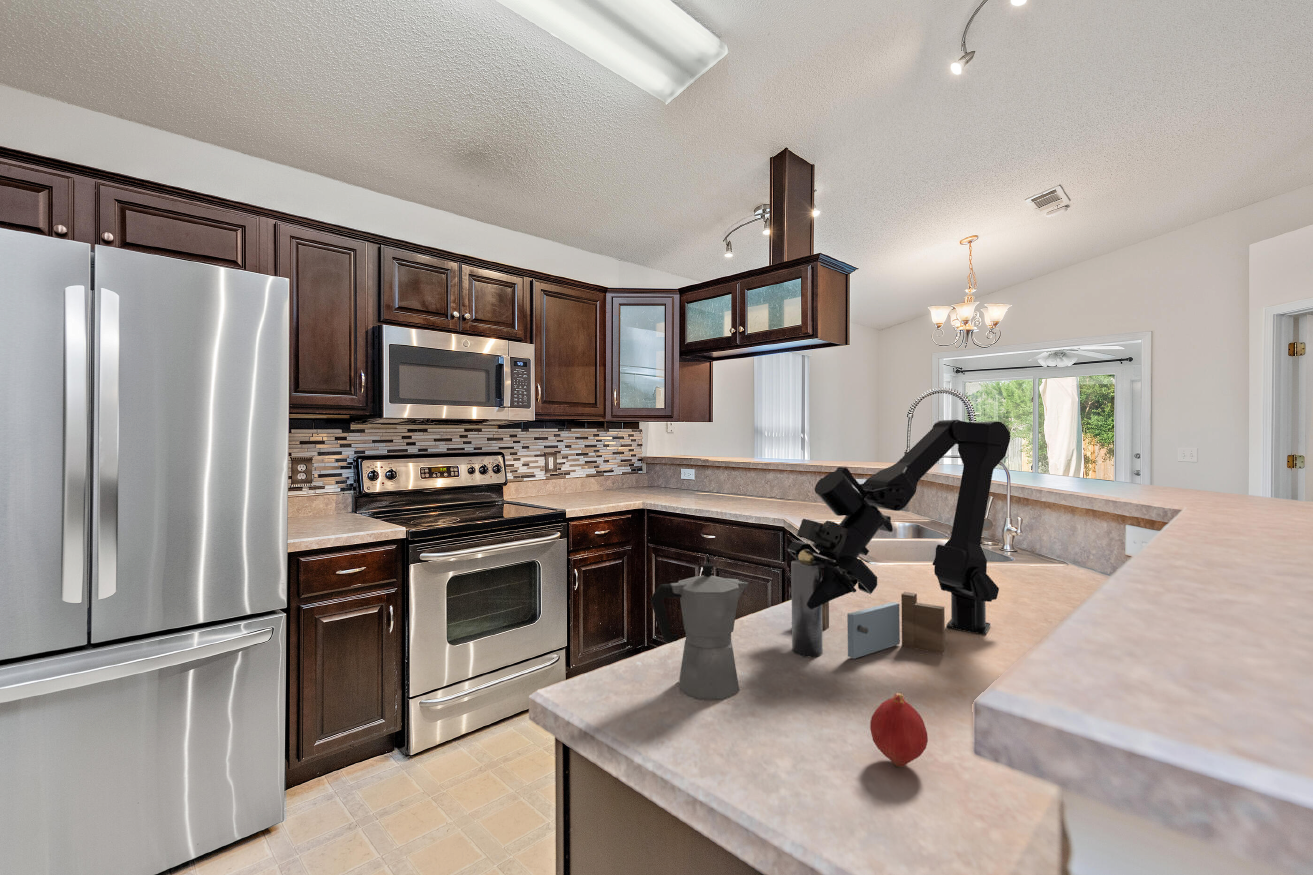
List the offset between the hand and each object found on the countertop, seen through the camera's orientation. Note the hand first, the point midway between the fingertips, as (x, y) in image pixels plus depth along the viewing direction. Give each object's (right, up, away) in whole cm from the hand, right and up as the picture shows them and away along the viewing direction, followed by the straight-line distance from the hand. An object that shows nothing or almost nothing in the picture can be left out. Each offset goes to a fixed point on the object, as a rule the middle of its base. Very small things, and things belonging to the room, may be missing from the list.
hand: (799, 602), depth 95 cm
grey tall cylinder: (+1, -8, 0) cm, 8 cm away
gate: (+13, -8, -1) cm, 15 cm away
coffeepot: (-18, -9, -13) cm, 24 cm away
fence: (+14, -8, +7) cm, 18 cm away
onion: (+3, -8, -33) cm, 34 cm away
